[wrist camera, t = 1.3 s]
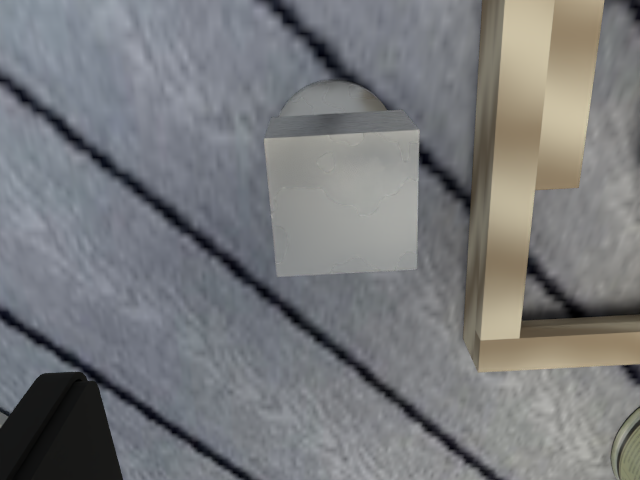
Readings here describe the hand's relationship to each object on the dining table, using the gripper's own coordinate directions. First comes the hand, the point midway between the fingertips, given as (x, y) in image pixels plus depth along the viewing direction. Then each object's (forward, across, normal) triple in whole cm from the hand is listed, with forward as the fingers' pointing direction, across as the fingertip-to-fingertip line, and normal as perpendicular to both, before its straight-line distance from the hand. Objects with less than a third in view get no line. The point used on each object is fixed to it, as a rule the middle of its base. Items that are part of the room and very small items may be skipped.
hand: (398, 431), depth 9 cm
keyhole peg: (+20, 0, 0) cm, 21 cm away
